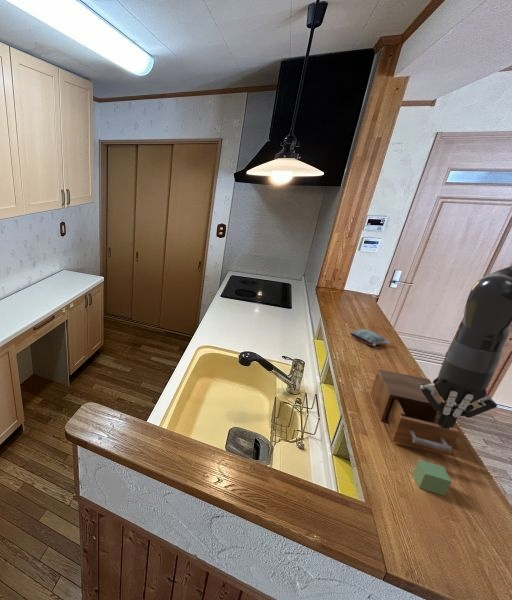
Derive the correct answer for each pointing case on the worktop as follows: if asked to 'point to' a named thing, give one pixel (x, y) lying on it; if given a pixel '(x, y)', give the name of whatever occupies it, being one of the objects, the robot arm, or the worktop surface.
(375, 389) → the cabinet
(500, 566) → the worktop surface
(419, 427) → the drawer
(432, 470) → the block
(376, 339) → the packaged food
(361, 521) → the worktop surface
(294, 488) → the worktop surface
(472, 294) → the robot arm
